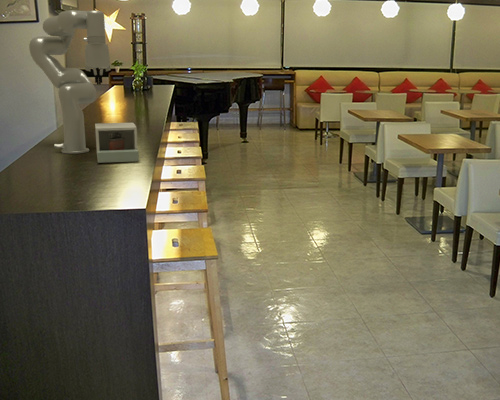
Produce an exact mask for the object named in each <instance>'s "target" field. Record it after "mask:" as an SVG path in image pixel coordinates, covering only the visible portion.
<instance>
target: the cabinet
mask: <svg viewBox="0 0 500 400" xmlns="http://www.w3.org/2000/svg"><path fill="white" fill-rule="evenodd" d="M94 127H95V128H94V129H95V131H94V133H95V145H96V146H95V147H96V149H95V150H96V152H97V151H100V149H109V141H108V139H111V138H112V137H110V134H111V133H115V132H118V133H122V136H121V137H124V148H132V150H136V149H138V129H137V127H138V126H136V124H135V123H134V122H111V123H110V122H102V123H100V122H99V123H94ZM96 157H97V156H96ZM97 161H98V157H97Z"/></svg>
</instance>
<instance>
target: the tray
mask: <svg viewBox="0 0 500 400" xmlns="http://www.w3.org/2000/svg"><path fill="white" fill-rule="evenodd" d="M124 149H125V150H109V149H100V151H97V150H96V157H98V160H97V164H98V163H123V162H125V163H126V162H128V163H129V162H140V154H139V150H138V149H136V150H132V148H124Z"/></svg>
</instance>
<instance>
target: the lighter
mask: <svg viewBox="0 0 500 400" xmlns="http://www.w3.org/2000/svg"><path fill="white" fill-rule="evenodd" d="M121 136H122V133H118V132H115V133H111V134H110V137H112V138H111V139H108V141H109V150H125V149H124V137H121Z"/></svg>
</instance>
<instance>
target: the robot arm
mask: <svg viewBox="0 0 500 400" xmlns="http://www.w3.org/2000/svg"><path fill="white" fill-rule="evenodd" d="M42 29H43V30H42V31H43V32H44V33H45V34H46V35H49V36H35V37H34V38H32V39H31V40H30V41H29V43H28V45H29V48H28V49H29V53H30V56H31V58H32V60H33V61H34V63H35V64H36V65H37V66H38V67H39V68H40V69H41V71H43V73H44V74H45V76H47V78H48V79H49V81H50V82H51V84H52V85H53V86H54V87H55V88H56V89H58V93H57V95H58V99H59V102H60V107H61V113H62V115H61V116H62V117H61V118H62V127H63V142H62V143H54V149H61V153H62V154H67V155H68V154H69V155H73V154H74V155H77V154H85V153H89V151H90V149H89V147H86V131H85V115H84V111H83V109H82V108H81V107H80V105H82V104H83V105H86V104H92V103H94V102H95V101H96V100H97V97H98V92H97V89H96V87H95V85H94V84H93V83H92V81H91V80H90V78H89V77H88V76H87V74H86V73H85V72H84V71H83V70H81V69H80V68H77V67H64V66H63V65H62V64H61V63H60V61H59V60H58V59H57V58H55V57H54V56H59V55H60V56H62V55H65V54H67V52H68V50H69V48H70V47H71V46H70V45H71V43H72V41H73V39H74V36H75V34H76V29H77V30H79V29H80V30H83V29H84V30H86V37H83V42H87V43H85V49H84V54H85V55H84V56H85V57H84V60H85V62H84V64H85V69H84V70H85V71H87V72H91V74H93V75H94V83H95V84H96V85H98V86H100V85H102V83H103V75H104V74H105V73H106V72H109V71H111V61H110V60H111V58H110V57H111V56H110V51H109V50H110V49H109V46H108V44H107V43H106V26H105V13H104V11H102V10H75V9H74V10H73V9H71V10H70V9H69V10H64V11H61V12H59V13H58V15H55V16H50V17H48V18H46V19H44V21H43V22H42ZM97 69H99V72H98V71H97ZM97 72H98V73H97Z"/></svg>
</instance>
